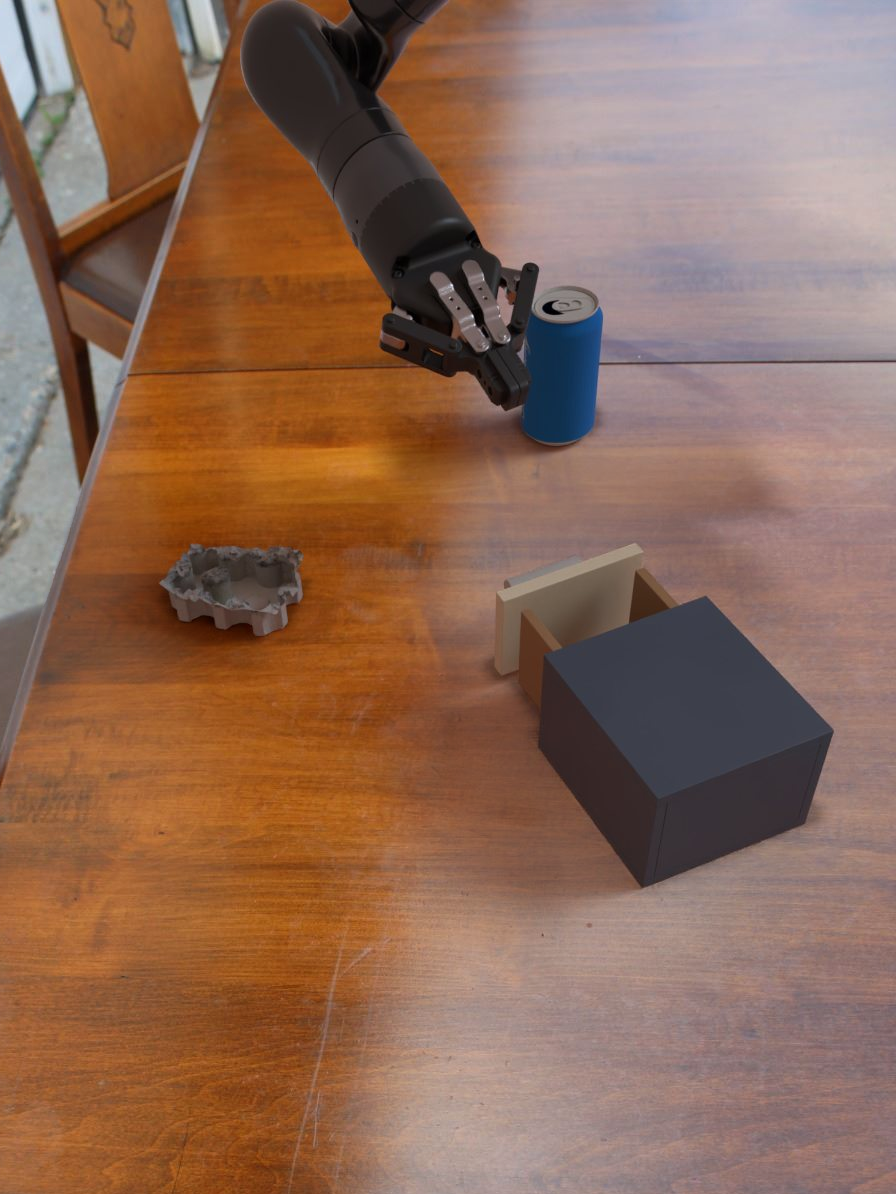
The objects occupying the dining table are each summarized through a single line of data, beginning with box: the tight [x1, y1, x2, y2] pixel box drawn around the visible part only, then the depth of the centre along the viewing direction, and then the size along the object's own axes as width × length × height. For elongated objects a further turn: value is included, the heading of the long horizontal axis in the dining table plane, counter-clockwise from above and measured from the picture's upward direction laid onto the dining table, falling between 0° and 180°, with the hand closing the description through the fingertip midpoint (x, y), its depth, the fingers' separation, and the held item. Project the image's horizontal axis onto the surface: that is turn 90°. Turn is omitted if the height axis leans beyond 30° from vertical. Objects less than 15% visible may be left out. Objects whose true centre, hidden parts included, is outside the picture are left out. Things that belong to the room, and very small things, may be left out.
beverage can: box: [520, 285, 604, 447], centre depth 115 cm, size 6×6×12 cm
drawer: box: [493, 542, 680, 710], centre depth 97 cm, size 17×11×7 cm, turn 22°
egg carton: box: [159, 543, 304, 637], centre depth 109 cm, size 11×8×4 cm
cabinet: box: [537, 595, 835, 889], centre depth 90 cm, size 15×13×9 cm
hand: (518, 399), depth 91 cm, fingers closed
